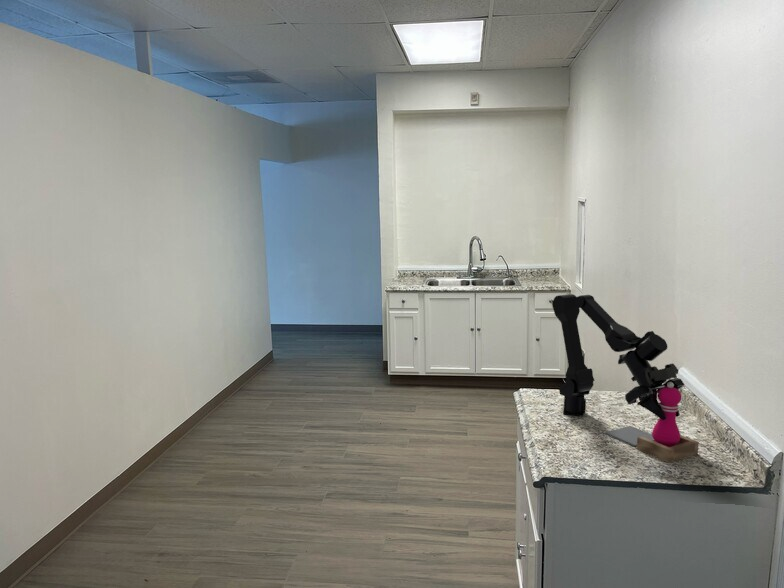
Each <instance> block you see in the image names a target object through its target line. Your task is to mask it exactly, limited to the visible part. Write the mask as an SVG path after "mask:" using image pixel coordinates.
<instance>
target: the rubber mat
mask: <svg viewBox="0 0 784 588" xmlns="http://www.w3.org/2000/svg"><path fill="white" fill-rule="evenodd" d="M604 435H606V436H608V437H611V438H613V439H616V440H618V441H620V442H622V443H624V444H626V445H629V446H631V447H633V448H637V439H638V437H640V436H642V437H645V438H647V439H650V440H652V441H655V440H654V439H653V437H652V433H649V432H647V431H644V430H641V429H639V428H637V427H635V426H632V425H629V426H623V427H619V428H617V429H613V430H609V431H606V432H604Z"/></svg>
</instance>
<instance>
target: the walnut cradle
mask: <svg viewBox="0 0 784 588" xmlns="http://www.w3.org/2000/svg"><path fill="white" fill-rule="evenodd" d="M699 445H700V442H699V441H698V440H695V439H692V438H689V437H687V436H684V435H681V434H680V441H679V442H678V443H677V444H676V446H672V447H667V446H664V445H662V444H659V443H657V442H654V441H652V440H650V439H647V438H645V437H642V436H640V437H638V439H637V447H636V449H637V450H638V451H641V452H644V453H646V454H647V455H650V456H653V457H655V458H656V459H660V460H661V461H664V462H667V463H669V464H670V463H673V462H678V461H680V460H684V459H686V457H687V458H690V457H693V456H697V455H698V453H699ZM689 456H690V457H689Z"/></svg>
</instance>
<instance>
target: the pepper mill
mask: <svg viewBox="0 0 784 588" xmlns="http://www.w3.org/2000/svg"><path fill="white" fill-rule="evenodd" d="M667 386H668V387H663V388H661V389H660V390H659V392H658V393H657V400H658V403H659V404H660V406H661V408H662V410H663V412H664V414H665V416H666V419H665V420H662V419H661V418H659V417H658V420H657V421H656V424H655V425H654V427H653V429H652V433H651V434H652V437H653V439H654V440H655V441H654V442H657V443H659V444H662V445H664V446H667V447H672V446H676V444H677V443H678V442H679V441H680V435H681V433H680V429H679V427H678V424H677V419H676V418H677V417H676V411H678V410H679V405H678V404H679V403H680V402H681V401H682V393H681V392H680V389H679V390H678V389H676V388H674V384H673V382H668V383H667Z"/></svg>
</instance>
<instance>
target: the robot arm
mask: <svg viewBox="0 0 784 588" xmlns="http://www.w3.org/2000/svg"><path fill="white" fill-rule="evenodd" d="M551 306H552V309H553V312H554V316H555V317H556V318H557V320H559V322H560V325H561V331H562V336H563V340H564V342H563V343H564V347H565V354H566V359H567V363H568V366H567V369H566V372H565V382H564V383H563V384H562V385H561V386H559V387H558V391H559V395H561V396H563V411H562V414H563V415H567V416H578V417H584V416H585V413H586V408H587V399H586V397H585V395H589V394H590V392H591V390H592V388H593V387H594V381H595V378H594V374H593V369H592V368H588V366H587V365H586V364H585V361H584V356H583V355H584V354H583V348H582V343H581V338H580V332H579V326H578V322H577V321H578V317H579V315H580V311H581V310H582V311H583V313H585V315H586V316H588V318H589V319H590V320H591V321H592V322H593V323H594V324H595V326H597V327H598V329H599V330H600V331H602V333H603V334H604V338H605V341H606V343H607V345H609V347H610V349H611V350H612V351H613V352H615V353H621V352H626V353H622V354H620V355H619V357H618V361H617V364H618V365H623V364H625V365H626V367H627V368H628V370H629V372H631V375H632V377H631V380H632V382H636V383H637V384H638V385H637V386H635V387H632V389H630V390H629V391H628V392H627V393H625V395H624V396H625V397H624V399H625V401H626V403H627V404H628V405H631V404H635V403H637V406H641V407H642V408H643V409H645V410H648V411H649V412H650V413H652V414H653V415H655V416H656V417H657V418H658V419H659V418H661V419H662V420H665V419H666V416H665V414H664V412H663V410H662V408H661V406H660V404H659V403H660V402H659V400H658V392H659V390H660V389H661V388H663V387H668V386H667V383H668V382H673V384H674V388H676V389H678V390H679V391H680V389H681V388H683V387H684V386H685V383H684V382H683V380H682V379H681V378H678V377H677V375H679V368H678V367H677V366H676V365H675V363H673V362H672V363H669V364H665V365H664V368H661V369H659V368H658V367H657V366H656V365H655V366H652V365H651V364H650V362H652V361H654V360H655V359H657V358H658V357H659V356H660V355H662V354H663V353H664V352H665V351H667V350H668V343H667V341H666V340H665V339H664V338H663V337H661V336H660V335H659V334H655V332H654V331H653V330H651V331H650V330H649V331H647V332H646V333H644V335H643V336H642V337H640V336H637V335H636V333H634V331H632V330H631V329H630V328H628V327H626V326H624V325H622V324H619V323H618V322H617V321H615V319H614V318H613V317H612V316H611V315H610V314H609V313H608V312H607V311H606V310H605V309H604V308H603V307H602V306H601V305H600V304H599V303H598V301H596V300H595V297H594V296H593V295H591V294H585V295H584V294H582V295H578V296H576V295H575V294H572V293H570V294H568V293H567V294H559V295H555V297H554V298H553V300H552V303H551ZM637 399H638V400H639V401H638V402H637ZM680 415H681V414H680V411H679V409H678V411H676V418H677V417H680Z"/></svg>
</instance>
